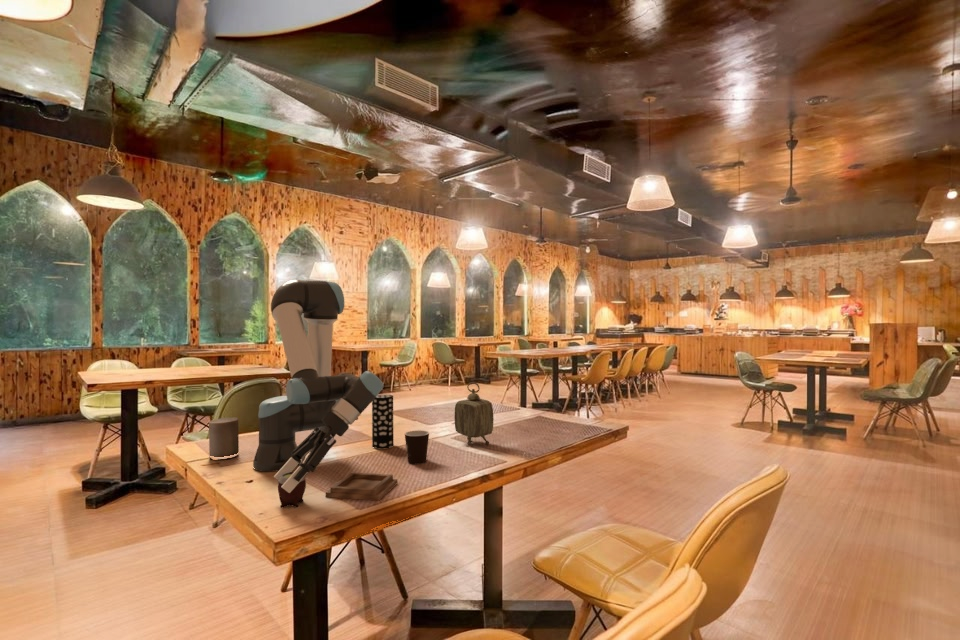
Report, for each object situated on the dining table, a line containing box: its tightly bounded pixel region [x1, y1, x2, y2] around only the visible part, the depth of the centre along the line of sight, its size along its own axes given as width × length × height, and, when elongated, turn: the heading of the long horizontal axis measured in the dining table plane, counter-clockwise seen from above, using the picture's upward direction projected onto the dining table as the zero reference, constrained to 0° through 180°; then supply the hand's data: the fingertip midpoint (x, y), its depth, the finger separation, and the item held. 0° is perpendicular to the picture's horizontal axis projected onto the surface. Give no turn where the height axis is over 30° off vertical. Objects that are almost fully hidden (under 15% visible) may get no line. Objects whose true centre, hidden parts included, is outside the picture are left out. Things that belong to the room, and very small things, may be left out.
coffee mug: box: [404, 429, 430, 465], centre depth 164 cm, size 12×9×10 cm
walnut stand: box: [325, 472, 398, 501], centre depth 135 cm, size 16×14×3 cm
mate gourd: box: [277, 448, 313, 509], centre depth 125 cm, size 8×8×15 cm
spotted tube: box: [371, 394, 394, 449], centre depth 184 cm, size 8×8×20 cm
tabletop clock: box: [454, 381, 495, 446], centre depth 186 cm, size 14×9×25 cm, turn 45°
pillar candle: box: [208, 416, 240, 457], centre depth 171 cm, size 10×10×15 cm
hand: (281, 484), depth 123 cm, fingers open, 9 cm apart
